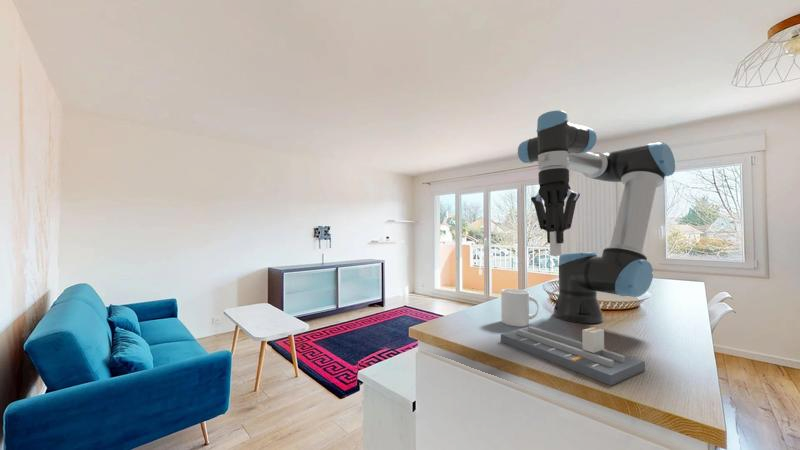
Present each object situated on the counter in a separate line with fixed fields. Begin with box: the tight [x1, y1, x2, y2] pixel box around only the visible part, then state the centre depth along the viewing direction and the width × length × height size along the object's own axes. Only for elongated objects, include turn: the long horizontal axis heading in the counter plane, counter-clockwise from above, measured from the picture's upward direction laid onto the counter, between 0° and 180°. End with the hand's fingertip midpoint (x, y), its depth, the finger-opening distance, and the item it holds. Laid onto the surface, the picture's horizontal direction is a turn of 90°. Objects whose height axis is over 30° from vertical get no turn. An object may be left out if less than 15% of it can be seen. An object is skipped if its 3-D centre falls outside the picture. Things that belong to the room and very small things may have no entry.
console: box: [500, 326, 646, 386], centre depth 76 cm, size 14×28×3 cm, turn 29°
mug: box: [500, 288, 539, 328], centre depth 102 cm, size 9×12×11 cm
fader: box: [581, 326, 605, 356], centre depth 70 cm, size 4×2×6 cm, turn 119°
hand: (555, 255), depth 84 cm, fingers closed
